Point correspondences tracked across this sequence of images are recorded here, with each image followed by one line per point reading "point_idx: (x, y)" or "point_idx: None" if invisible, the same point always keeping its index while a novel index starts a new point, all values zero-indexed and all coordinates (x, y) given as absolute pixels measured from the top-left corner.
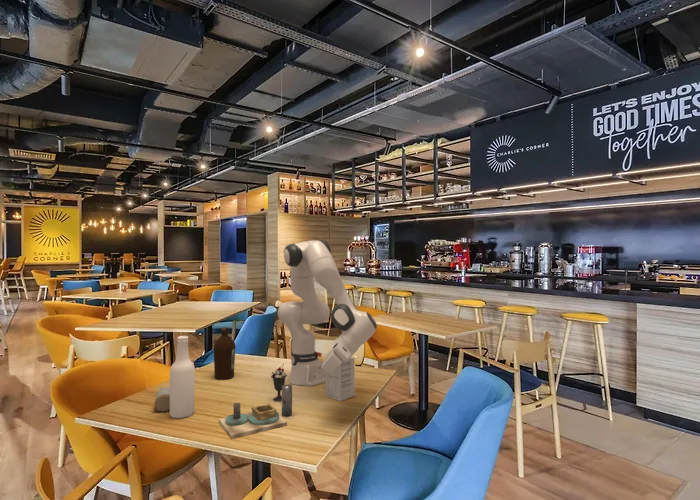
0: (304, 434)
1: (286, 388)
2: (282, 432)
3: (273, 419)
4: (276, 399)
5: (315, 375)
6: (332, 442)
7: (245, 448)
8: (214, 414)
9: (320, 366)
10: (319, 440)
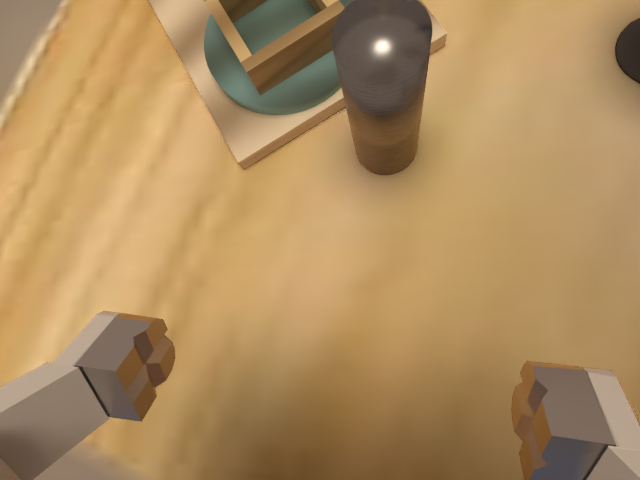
0: (135, 267)
1: (333, 44)
2: (169, 162)
3: (225, 89)
4: (636, 34)
5: (101, 317)
6: None
7: (56, 50)
8: None
9: (541, 419)
10: (67, 343)
